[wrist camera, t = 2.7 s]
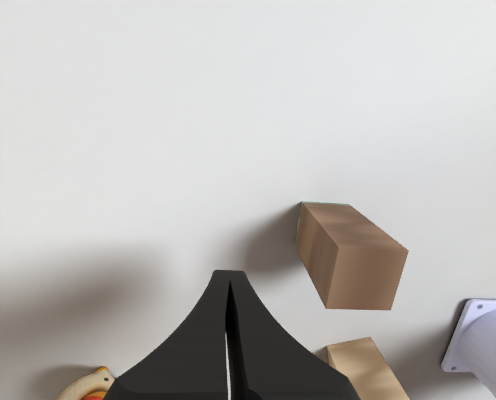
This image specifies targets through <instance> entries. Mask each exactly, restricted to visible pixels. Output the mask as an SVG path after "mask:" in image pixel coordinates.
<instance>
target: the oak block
mask: <svg viewBox="0 0 496 400" xmlns="http://www.w3.org/2000/svg"><path fill="white" fill-rule="evenodd" d="M327 352H328V361H329V365H330V366H331V367H333V368H334V369H336V370H338V371H339V372H341V373H342V374H344V375H345V376H347V377H348V378H349V380H350V382H351V383H352V385H353V387H354V388H355V390H356V392H357V394H358V396H359V397H360V399H361V400H410V399H409V397H408V396H407V394H406V393H405V391H404V389H403V388H402V386H401V385H400V383H399V381H398V380H397V378H396V377H395V375H394V374H393V372H392V370H391V369H390V367H389V366H388V364H387V362H386V361H385V359H384V358H383V356H382V354H381V353H380V351H379V350H378V348H377V347H376V345H375V343H374V342H373V340H372V339H371V337H368V338H363V339H357V340H352V341H347V342H342V343H337V344H332V345H327Z"/></svg>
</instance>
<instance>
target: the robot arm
mask: <svg viewBox="0 0 496 400" xmlns="http://www.w3.org/2000/svg"><path fill="white" fill-rule="evenodd" d="M225 334H226V336H227V348H228V359H229V371H230V384H231V400H361V399H360V397H359V396H358V394H357V392H356V390H355V388H354V387H353V385H352V383H351V382H350V380H349V378H348V377H347V376H345V375H344V374H342V373H341V372H339V371H338V370H336V369H334V368H333V367H331V366H330V365H328V364H326V363H325V362H323V361H322V360H320V359H319V358H318V357H316V356H315V355H314V354H312V353H311V352H310V351H308V350H307V349H306V348H305V347H303V346H302V345H301V344H300V343H299V342H298V341H296V340H295V339H294V338H293V337H292V336H291V335H290V334H289V333H288V332H287V331H285V330H284V328H283V327H282V326H281V325H280V324H279V323H278V322H277V321H276V320H275V319H274V317H273V316H272V315H271V314H270V312H269V311H268V310H267V308H266V307H265V306H264V304H263V303H262V302H261V300H260V299H259V297H258V296H257V294H256V293H255V291H254V289H253V288H252V286H251V284H250V282H249V281H248V279H247V277H246V274H245V273H244V272H243V271H232V270H215V271H214V272H213V274H212V277H211V280H210V282H209V284H208V286H207V288H206V289H205V291H204V293H203V295H202V296H201V298H200V299H199V301H198V302H197V304H196V305H195V307H194V308H193V310H192V311H191V312H190V314H189V315H188V316H187V317H186V319H185V320H184V321H183V322H182V323H181V324H180V326H179V327H178V328H177V329H176V330H175V331H174V332H173V333H172V334H171V335H170V336H169V337H168V338H167V339H166V340H165V341H164V342H163V343H162V344H161V345H160V346H158V347H157V348H156V349H155V350H154V351H153V352H151V353H150V354H149V355H148V356H147V357H146V358H144V359H143V360H142V361H140V362H139V363H138V364H136V365H135V366H134V367H132V368H131V369H129V370H128V371H126V372H125V373H124V374H122V375H121V376H119V377H118V378H116V379H115V380H114V382H113V383H112V385H111V386H110V388H109V390H108V391H107V393H106V394H105V396H104V398H103V400H228V386H227V368H226V339H225ZM441 368H442V369H443V370H444V371H445V372H473V373H474V375H475V376H476V377H477V378H478V379H479V380H480V381H481V382H482V383H483V384H484V385H485V386H486V387H487V388H488V390H489V391H490V392H491V393H492V394H493V395H494V396H495V397H496V300H484V299H471V300H468V301H467V302H466V304H465V307H464V309H463V312H462V314H461V317H460V319H459V322H458V324H457V327H456V329H455V332H454V334H453V337H452V339H451V342H450V344H449V347H448V349H447V352H446V354H445V357H444V359H443V362H442V364H441Z"/></svg>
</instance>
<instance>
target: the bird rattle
mask: <svg viewBox="0 0 496 400" xmlns="http://www.w3.org/2000/svg"><path fill="white" fill-rule="evenodd" d="M114 380H115V379H114V378H113V377H112V376H111V374H110V372H109V371H108V369H107V368H105V367H102V368H99V369H98V370H97V371H96V372H94V373H93V374H89V375H86V376H83V377H81V378H79V379H77V380H76V381H74V382H73V383H72V384H70V385H69V386H67V387H66V388H65V389H64V390H63V391H62V392H61V393H60V394H59V395H58V396H57V397H56V399H55V400H103V398H104V396H105V394H106V393H107V391H108V390H109V388H110V386H111V385H112V383H113V382H114Z"/></svg>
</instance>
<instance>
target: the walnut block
mask: <svg viewBox="0 0 496 400" xmlns="http://www.w3.org/2000/svg"><path fill="white" fill-rule="evenodd" d="M295 247H296V249H297V251H298V253H299V255H300V257H301V259H302V261H303V264H304V266H305V268H306V270H307V272H308V274H309V276H310V278H311V280H312V282H313V284H314V286H315V288H316V290H317V292H318V294H319V296H320V298H321V300H322V302H323V304H324V306H325V308H326V309H356V310H391V307H392V304H393V301H394V298H395V294H396V291H397V288H398V284H399V281H400V278H401V274H402V271H403V268H404V264H405V261H406V258H407V254H408V250H407V249H406V248H405V247H403V246H402V245H401V244H399V243H398V242H397V241H396V240H394V239H393V238H392V237H390V236H389V235H388V234H387V233H385V232H384V231H383V230H381V229H380V228H379V227H378V226H376V225H375V224H374V223H372V222H371V221H370V220H368V219H367V218H366V217H365V216H363V215H362V214H361V213H359V212H358V211H357V210H356V209H354V208H353V207H352V206H350V205H349V204H335V203H319V202H303V201H302V202H301V209H300V215H299V221H298V228H297V234H296V241H295Z"/></svg>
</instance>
